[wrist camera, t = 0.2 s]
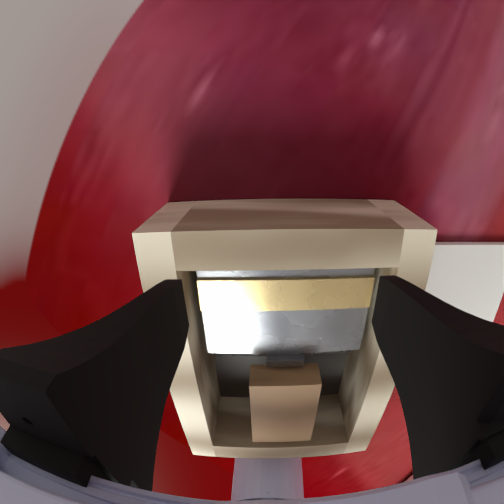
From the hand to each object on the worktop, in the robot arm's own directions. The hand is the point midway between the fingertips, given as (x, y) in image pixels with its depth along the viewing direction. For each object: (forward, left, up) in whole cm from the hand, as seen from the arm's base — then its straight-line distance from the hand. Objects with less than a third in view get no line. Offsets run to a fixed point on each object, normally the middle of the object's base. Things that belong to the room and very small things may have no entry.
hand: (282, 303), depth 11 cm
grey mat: (-8, -17, -10) cm, 21 cm away
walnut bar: (-12, -1, -6) cm, 13 cm away
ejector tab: (-9, -1, -7) cm, 11 cm away
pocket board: (-7, -1, -10) cm, 12 cm away
